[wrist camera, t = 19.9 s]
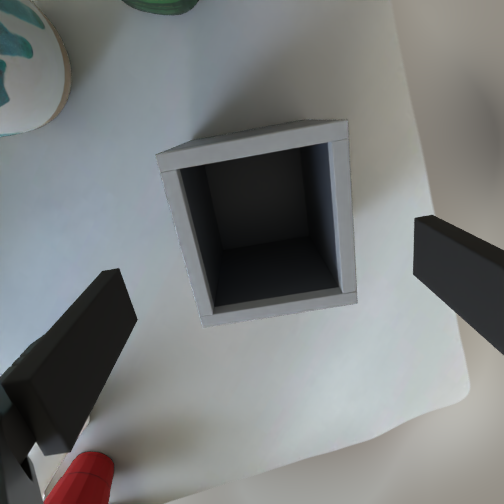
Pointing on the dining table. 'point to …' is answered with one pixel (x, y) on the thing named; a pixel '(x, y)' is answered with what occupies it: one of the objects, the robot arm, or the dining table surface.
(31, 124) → the vase
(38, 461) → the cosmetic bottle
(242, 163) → the grey hollow box
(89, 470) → the plastic cup
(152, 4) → the coffee jar
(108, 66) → the dining table surface
